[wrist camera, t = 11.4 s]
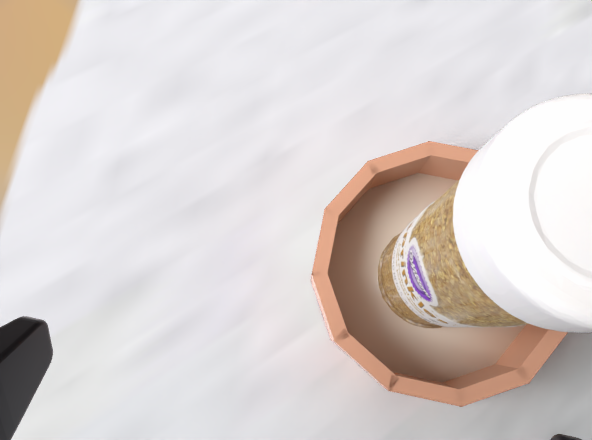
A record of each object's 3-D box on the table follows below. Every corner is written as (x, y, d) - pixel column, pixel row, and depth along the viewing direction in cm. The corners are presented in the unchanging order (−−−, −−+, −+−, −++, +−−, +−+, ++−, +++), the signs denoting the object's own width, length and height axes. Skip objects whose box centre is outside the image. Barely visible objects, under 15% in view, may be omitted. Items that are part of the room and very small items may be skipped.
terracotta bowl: (527, 415, 21) (563, 429, 18) (293, 364, 22) (291, 370, 19) (550, 190, 23) (586, 170, 20) (337, 149, 24) (341, 124, 21)
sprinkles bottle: (356, 261, 22) (430, 164, 9) (439, 208, 23) (625, 41, 9) (415, 350, 21) (593, 386, 8) (500, 293, 22) (799, 240, 9)
